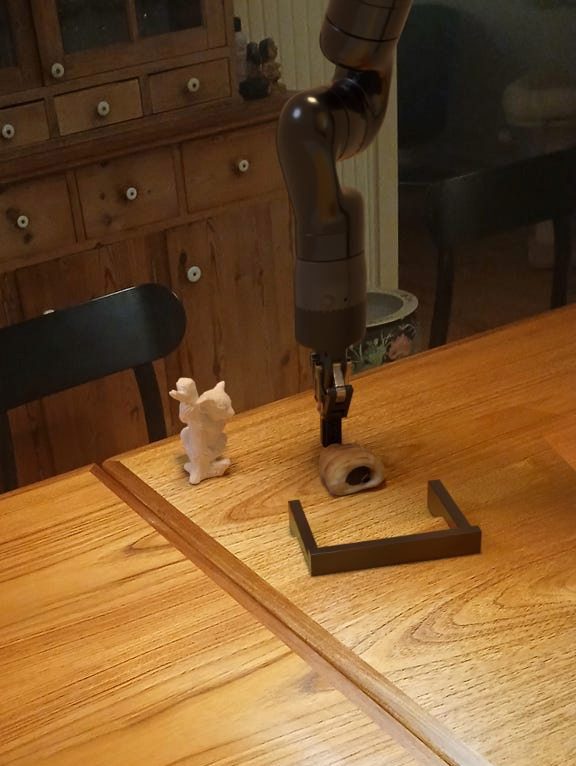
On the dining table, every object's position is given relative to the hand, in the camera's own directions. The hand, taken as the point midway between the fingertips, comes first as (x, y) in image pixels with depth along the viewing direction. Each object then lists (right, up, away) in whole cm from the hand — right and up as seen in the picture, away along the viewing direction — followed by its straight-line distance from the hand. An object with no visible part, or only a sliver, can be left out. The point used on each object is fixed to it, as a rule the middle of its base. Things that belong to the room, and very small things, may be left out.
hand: (330, 444), depth 115 cm
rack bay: (0, -13, -17) cm, 22 cm away
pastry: (+1, -5, -5) cm, 7 cm away
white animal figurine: (-14, -3, +3) cm, 15 cm away
